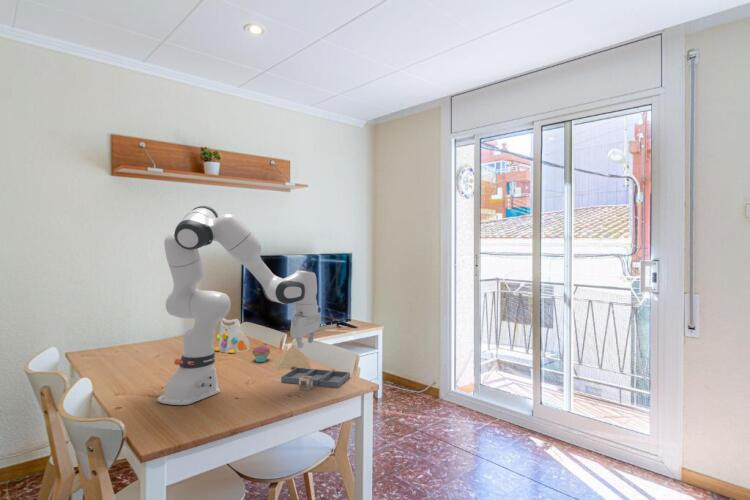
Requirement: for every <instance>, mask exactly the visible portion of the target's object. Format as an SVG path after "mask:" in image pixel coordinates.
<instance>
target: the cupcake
mask: <svg viewBox="0 0 750 500" xmlns="http://www.w3.org/2000/svg"><path fill="white" fill-rule="evenodd" d="M261 341H262V340H261V338H259V339H258V343H259V346H257V347H255V348H254V349H252V355H253V356H254V358H255V362H257V363H265V362H267V360H268V358H269V357H268V356H269V354H271V350H270V348H269V347H267V346H264V345H262V342H261Z"/></svg>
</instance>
